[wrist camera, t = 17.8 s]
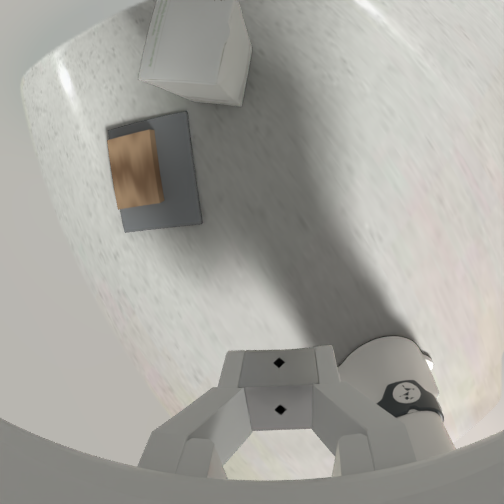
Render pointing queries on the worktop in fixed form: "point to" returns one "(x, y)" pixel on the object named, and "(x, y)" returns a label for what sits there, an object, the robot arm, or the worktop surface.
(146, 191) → the walnut slab
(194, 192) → the slate mat
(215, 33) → the skincare box
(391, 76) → the worktop surface
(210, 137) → the worktop surface
